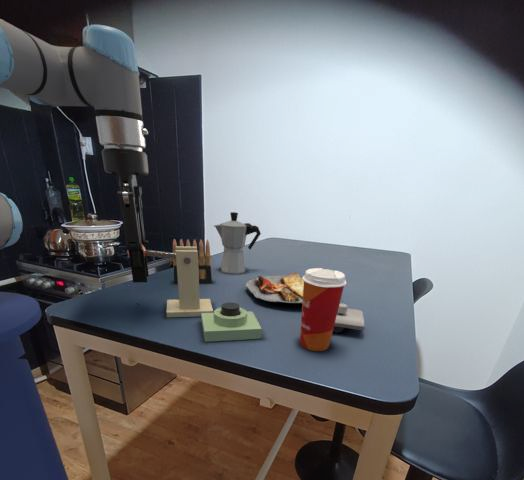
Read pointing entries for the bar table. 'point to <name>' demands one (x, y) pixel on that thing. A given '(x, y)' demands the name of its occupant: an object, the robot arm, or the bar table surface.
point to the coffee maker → (235, 243)
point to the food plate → (278, 288)
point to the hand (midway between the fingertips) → (141, 278)
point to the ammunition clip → (203, 265)
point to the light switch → (348, 319)
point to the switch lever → (157, 253)
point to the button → (230, 309)
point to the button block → (230, 326)
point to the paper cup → (320, 307)
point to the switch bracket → (188, 286)
